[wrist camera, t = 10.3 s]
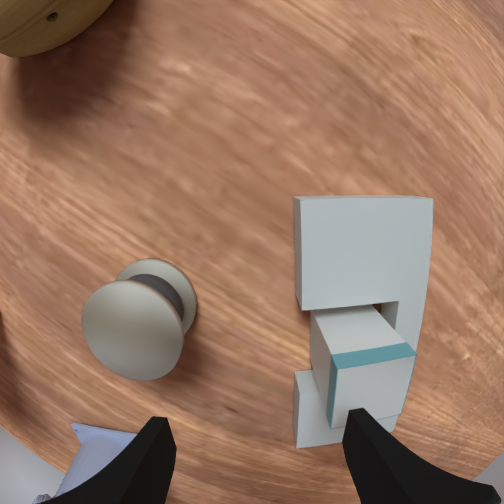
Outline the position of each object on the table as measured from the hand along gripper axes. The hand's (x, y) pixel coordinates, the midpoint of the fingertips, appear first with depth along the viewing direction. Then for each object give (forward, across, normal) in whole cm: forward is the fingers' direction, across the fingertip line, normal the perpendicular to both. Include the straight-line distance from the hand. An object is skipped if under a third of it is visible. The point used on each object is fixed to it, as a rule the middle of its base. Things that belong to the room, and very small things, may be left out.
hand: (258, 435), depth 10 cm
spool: (+9, +6, -2) cm, 12 cm away
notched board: (+9, -7, 0) cm, 11 cm away
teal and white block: (+9, -6, 0) cm, 11 cm away
